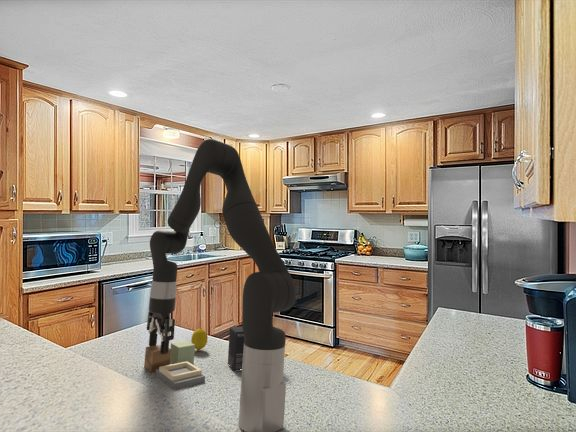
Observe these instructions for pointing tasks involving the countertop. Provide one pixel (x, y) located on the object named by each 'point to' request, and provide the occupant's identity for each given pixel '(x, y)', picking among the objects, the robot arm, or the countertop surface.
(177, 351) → the sage block
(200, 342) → the lemon
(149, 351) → the walnut block
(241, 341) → the small box
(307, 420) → the countertop surface
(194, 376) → the base board
